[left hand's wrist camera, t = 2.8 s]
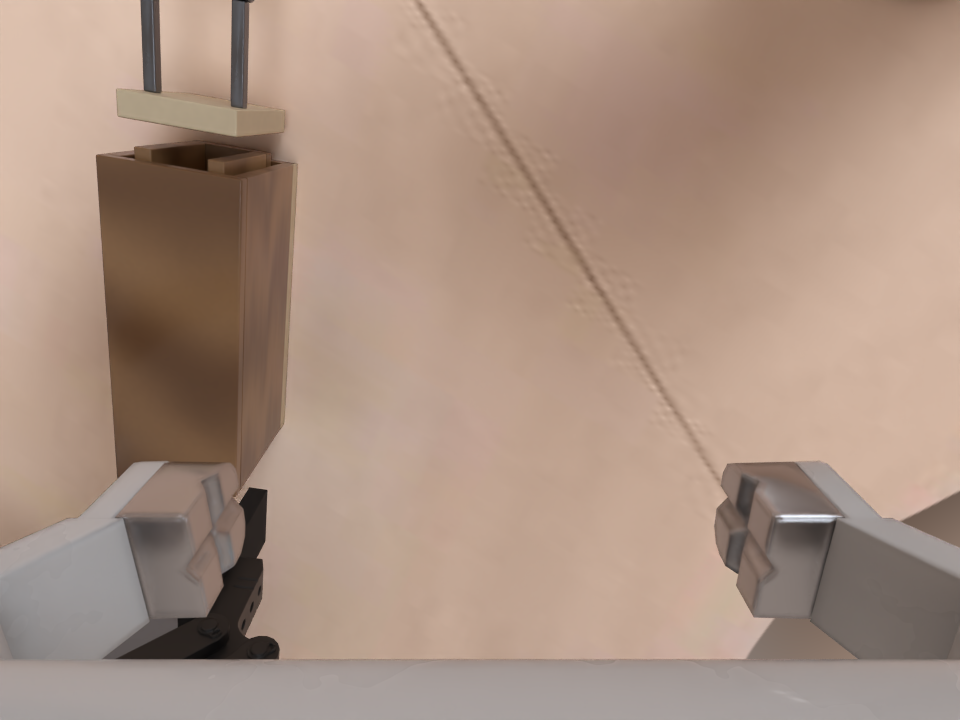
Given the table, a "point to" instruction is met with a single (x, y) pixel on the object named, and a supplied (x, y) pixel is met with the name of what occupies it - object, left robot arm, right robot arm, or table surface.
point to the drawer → (200, 106)
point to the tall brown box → (196, 308)
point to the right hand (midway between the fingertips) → (97, 491)
